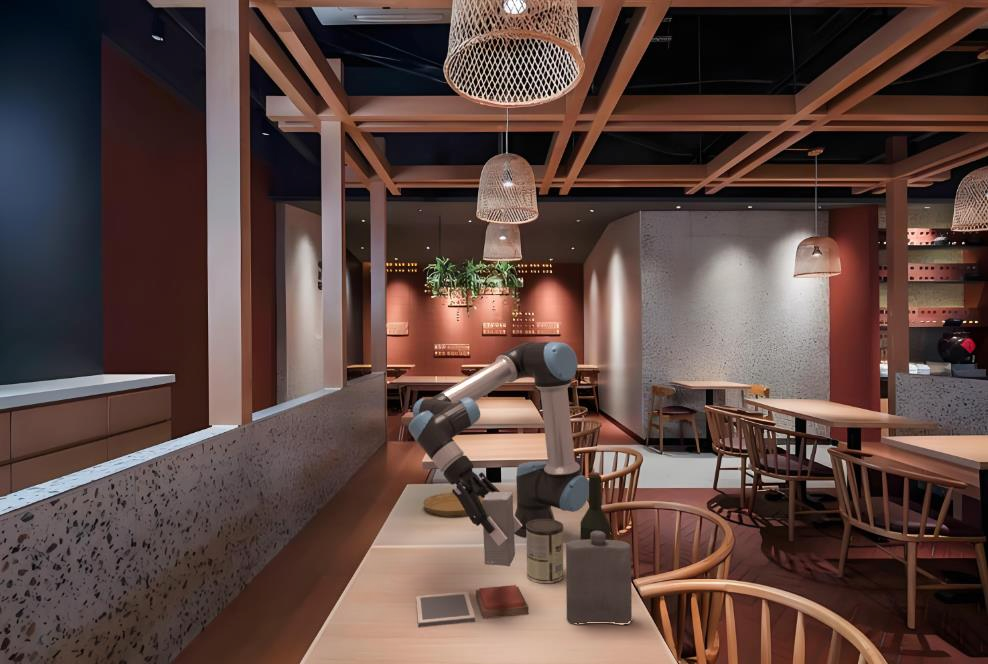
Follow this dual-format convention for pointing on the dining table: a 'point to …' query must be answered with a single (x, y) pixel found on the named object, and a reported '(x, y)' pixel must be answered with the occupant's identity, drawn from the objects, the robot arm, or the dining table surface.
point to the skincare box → (502, 515)
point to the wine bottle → (594, 511)
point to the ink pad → (501, 601)
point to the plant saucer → (445, 505)
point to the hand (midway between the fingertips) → (511, 535)
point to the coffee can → (544, 550)
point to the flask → (598, 580)
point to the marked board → (444, 609)
